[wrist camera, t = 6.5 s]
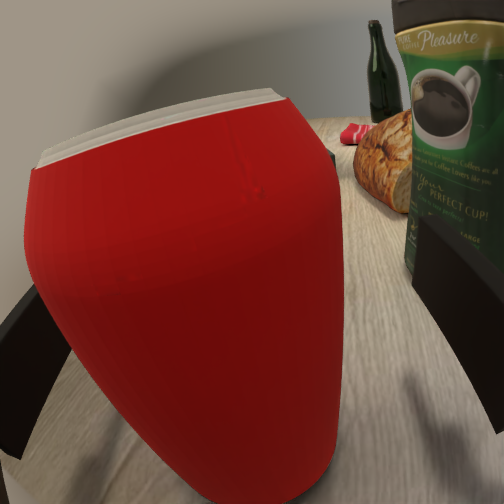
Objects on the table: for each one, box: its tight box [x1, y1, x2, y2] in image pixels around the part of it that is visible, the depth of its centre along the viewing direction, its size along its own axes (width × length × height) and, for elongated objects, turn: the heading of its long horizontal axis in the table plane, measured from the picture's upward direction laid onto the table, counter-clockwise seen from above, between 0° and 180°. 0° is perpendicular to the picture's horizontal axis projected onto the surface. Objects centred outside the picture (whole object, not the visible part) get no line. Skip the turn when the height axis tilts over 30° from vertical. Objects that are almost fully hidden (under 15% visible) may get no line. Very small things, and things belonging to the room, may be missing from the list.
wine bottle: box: [367, 20, 403, 123], centre depth 75 cm, size 10×10×33 cm
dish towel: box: [340, 123, 376, 144], centre depth 57 cm, size 17×24×3 cm
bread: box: [353, 109, 412, 213], centre depth 30 cm, size 20×18×10 cm
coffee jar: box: [392, 0, 504, 275], centre depth 12 cm, size 10×8×19 cm
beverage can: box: [24, 88, 344, 504], centre depth 8 cm, size 6×6×12 cm
